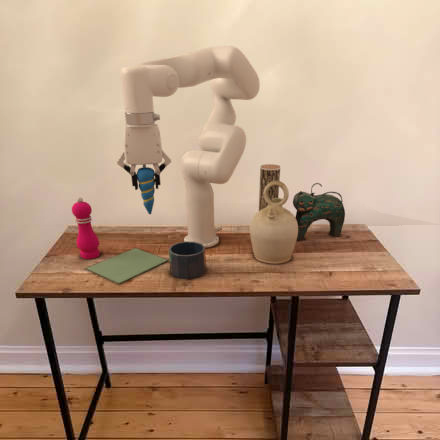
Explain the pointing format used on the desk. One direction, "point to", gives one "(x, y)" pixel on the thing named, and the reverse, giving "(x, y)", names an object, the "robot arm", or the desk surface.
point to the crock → (187, 259)
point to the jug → (274, 229)
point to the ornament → (147, 186)
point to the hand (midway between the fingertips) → (146, 187)
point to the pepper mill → (85, 230)
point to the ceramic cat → (318, 211)
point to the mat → (127, 265)
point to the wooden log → (267, 176)
